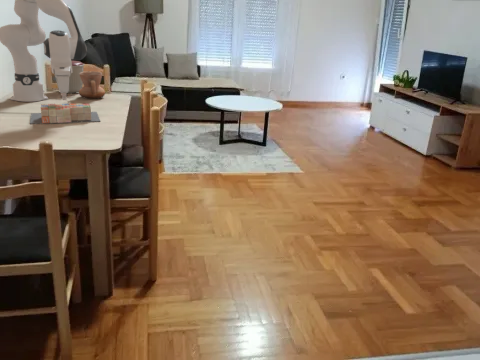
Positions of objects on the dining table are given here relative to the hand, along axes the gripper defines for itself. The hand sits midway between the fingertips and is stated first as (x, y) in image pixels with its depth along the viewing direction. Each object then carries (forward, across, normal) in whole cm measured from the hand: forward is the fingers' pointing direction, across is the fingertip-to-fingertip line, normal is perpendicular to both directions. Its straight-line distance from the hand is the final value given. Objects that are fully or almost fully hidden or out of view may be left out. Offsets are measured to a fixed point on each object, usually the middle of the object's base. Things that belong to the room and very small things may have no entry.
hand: (64, 99), depth 210 cm
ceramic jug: (+9, -51, +16) cm, 55 cm away
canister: (+9, -71, +5) cm, 72 cm away
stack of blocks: (+6, -4, 0) cm, 7 cm away
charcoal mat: (+9, -3, 0) cm, 10 cm away
